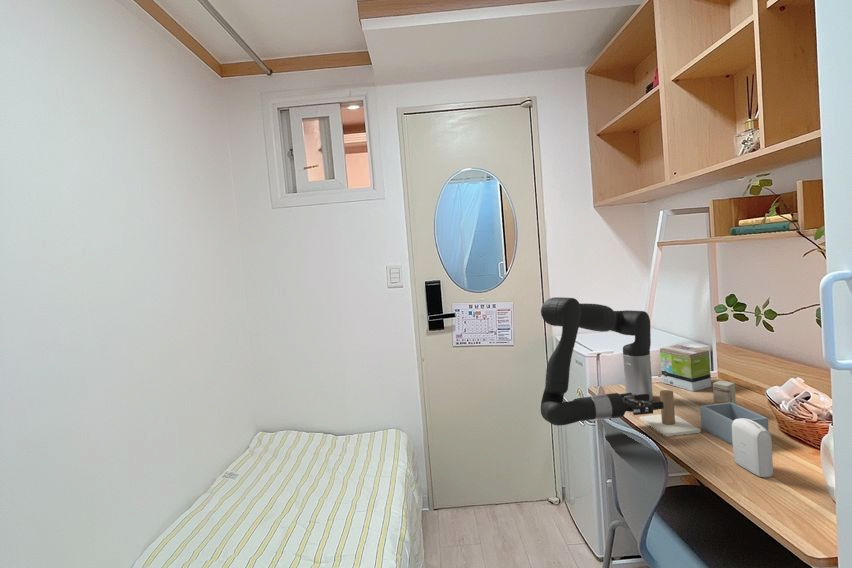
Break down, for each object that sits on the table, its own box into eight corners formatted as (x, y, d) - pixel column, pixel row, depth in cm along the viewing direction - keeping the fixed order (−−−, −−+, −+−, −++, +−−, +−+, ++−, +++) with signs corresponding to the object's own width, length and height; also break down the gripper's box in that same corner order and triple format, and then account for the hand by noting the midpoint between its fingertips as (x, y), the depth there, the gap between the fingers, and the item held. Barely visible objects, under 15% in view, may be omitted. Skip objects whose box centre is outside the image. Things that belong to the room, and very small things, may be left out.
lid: (639, 420, 165) (637, 387, 164) (671, 416, 165) (669, 383, 164) (665, 437, 149) (662, 401, 148) (700, 433, 149) (698, 397, 148)
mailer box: (701, 428, 152) (700, 405, 152) (732, 424, 153) (731, 402, 152) (734, 446, 137) (733, 422, 137) (769, 442, 138) (767, 418, 137)
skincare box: (713, 412, 164) (711, 382, 164) (721, 409, 166) (719, 379, 166) (729, 416, 160) (727, 385, 159) (737, 412, 162) (735, 382, 161)
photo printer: (730, 461, 129) (728, 415, 128) (746, 459, 129) (744, 413, 129) (759, 479, 119) (756, 429, 118) (776, 477, 119) (774, 427, 118)
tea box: (661, 383, 201) (658, 347, 200) (679, 379, 204) (677, 343, 203) (693, 392, 186) (690, 353, 186) (712, 387, 190) (710, 349, 189)
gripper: (615, 401, 148) (667, 395, 149) (595, 388, 162) (643, 383, 163) (616, 425, 148) (668, 420, 149) (597, 411, 162) (644, 405, 163)
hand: (655, 400), depth 156 cm, fingers open, 8 cm apart
